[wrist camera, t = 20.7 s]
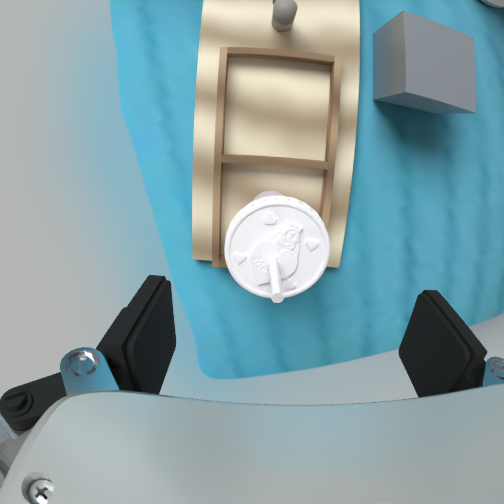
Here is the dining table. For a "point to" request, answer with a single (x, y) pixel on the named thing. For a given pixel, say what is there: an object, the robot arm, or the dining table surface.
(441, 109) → the gray cube
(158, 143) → the dining table surface
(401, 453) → the robot arm
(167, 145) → the dining table surface
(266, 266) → the smoothie
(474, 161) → the dining table surface
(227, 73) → the board
